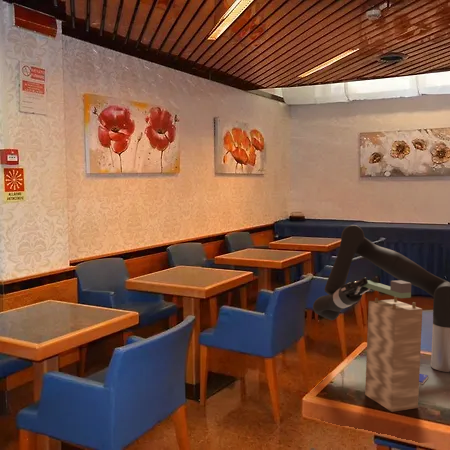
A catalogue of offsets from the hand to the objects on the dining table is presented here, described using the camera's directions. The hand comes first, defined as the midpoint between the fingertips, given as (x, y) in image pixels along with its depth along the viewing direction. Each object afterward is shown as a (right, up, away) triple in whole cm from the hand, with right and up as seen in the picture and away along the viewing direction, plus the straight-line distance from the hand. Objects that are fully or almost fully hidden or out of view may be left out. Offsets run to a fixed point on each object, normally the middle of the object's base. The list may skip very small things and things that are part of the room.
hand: (371, 279), depth 179 cm
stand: (+4, -39, -9) cm, 40 cm away
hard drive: (+17, -38, +13) cm, 44 cm away
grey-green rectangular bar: (+2, -3, -6) cm, 7 cm away
